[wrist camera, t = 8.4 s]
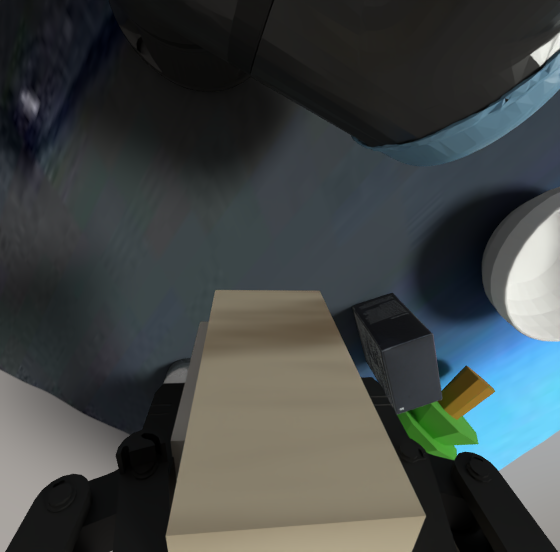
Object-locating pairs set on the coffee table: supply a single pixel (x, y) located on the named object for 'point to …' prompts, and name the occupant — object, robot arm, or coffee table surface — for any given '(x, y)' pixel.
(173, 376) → the grey rounded puck
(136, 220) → the coffee table surface
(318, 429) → the tan l-shaped block
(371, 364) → the small box
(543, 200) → the bowl
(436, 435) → the decorative tree
